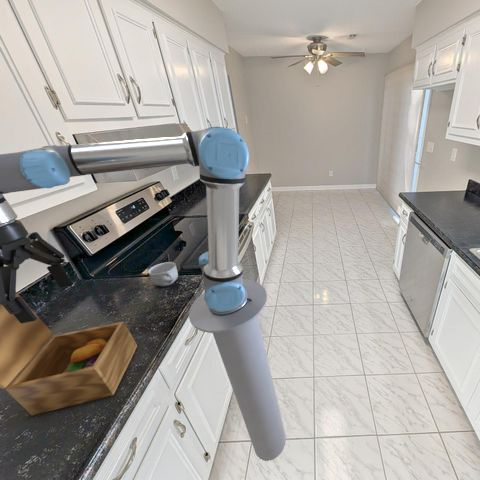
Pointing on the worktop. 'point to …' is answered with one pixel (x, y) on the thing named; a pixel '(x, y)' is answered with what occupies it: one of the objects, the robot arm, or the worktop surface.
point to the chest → (74, 382)
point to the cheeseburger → (87, 354)
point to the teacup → (163, 273)
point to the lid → (18, 343)
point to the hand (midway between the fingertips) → (49, 301)
